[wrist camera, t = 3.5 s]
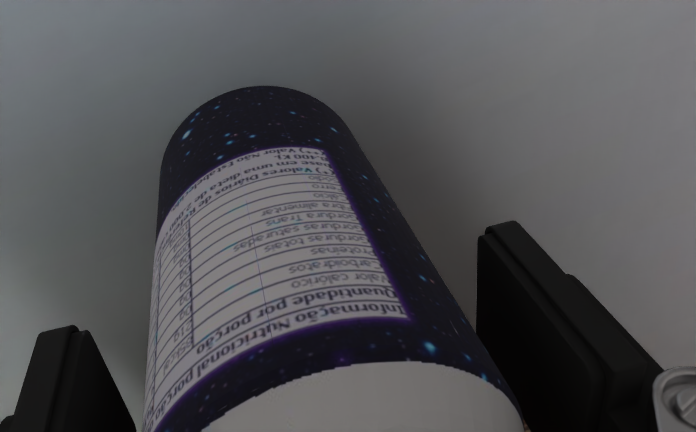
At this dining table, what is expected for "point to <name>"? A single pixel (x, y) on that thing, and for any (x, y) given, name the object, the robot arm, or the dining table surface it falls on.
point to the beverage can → (300, 288)
